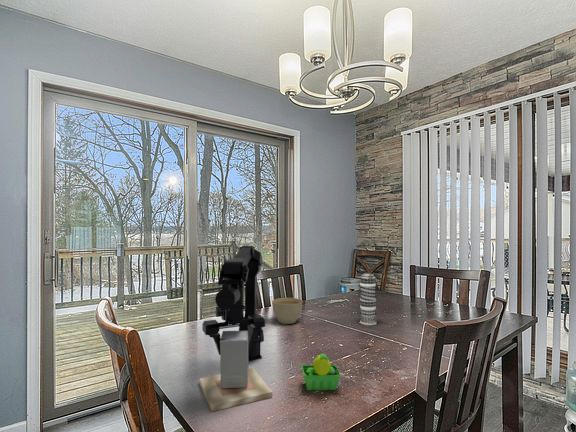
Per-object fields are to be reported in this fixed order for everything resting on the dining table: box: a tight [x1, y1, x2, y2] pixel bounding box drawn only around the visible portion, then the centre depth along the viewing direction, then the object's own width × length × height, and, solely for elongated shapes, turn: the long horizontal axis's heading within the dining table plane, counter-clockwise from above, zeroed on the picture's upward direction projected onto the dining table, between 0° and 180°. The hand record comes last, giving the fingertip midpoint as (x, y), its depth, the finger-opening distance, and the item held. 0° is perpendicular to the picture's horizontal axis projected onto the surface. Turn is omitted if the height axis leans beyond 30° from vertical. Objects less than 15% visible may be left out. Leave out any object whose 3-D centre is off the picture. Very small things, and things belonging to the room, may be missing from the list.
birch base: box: [199, 367, 273, 412], centre depth 102 cm, size 18×18×2 cm
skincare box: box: [219, 330, 249, 388], centre depth 101 cm, size 8×7×16 cm
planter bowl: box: [271, 297, 303, 325], centre depth 174 cm, size 16×16×11 cm
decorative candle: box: [358, 273, 378, 326], centre depth 172 cm, size 9×9×25 cm
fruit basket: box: [301, 353, 341, 391], centre depth 104 cm, size 11×9×11 cm
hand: (234, 351), depth 102 cm, fingers closed on skincare box, 9 cm apart
